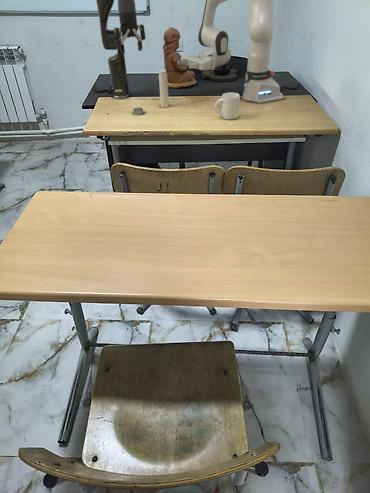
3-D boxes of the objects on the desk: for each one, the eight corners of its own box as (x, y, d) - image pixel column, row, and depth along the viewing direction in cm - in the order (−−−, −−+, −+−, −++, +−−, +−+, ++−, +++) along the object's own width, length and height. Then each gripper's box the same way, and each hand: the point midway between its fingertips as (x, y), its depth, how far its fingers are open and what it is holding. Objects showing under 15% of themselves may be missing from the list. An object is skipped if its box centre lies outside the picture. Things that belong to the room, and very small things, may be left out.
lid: (134, 115, 183) (133, 111, 181) (133, 111, 186) (133, 108, 185) (143, 114, 183) (143, 110, 182) (143, 111, 187) (142, 107, 186)
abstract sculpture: (205, 66, 215) (198, 59, 231) (204, 82, 221) (198, 74, 236) (245, 63, 218) (236, 56, 233) (243, 79, 224) (235, 71, 239)
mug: (215, 121, 173) (216, 99, 166) (212, 114, 179) (213, 93, 173) (240, 119, 174) (241, 97, 167) (235, 113, 180) (237, 91, 174)
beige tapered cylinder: (166, 104, 194) (164, 68, 183) (170, 106, 191) (168, 70, 180) (159, 105, 192) (157, 70, 181) (163, 107, 190) (160, 72, 178)
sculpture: (197, 88, 213) (196, 30, 194) (156, 89, 214) (152, 31, 194) (196, 75, 234) (196, 22, 215) (159, 76, 235) (156, 23, 215)
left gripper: (115, 13, 151) (120, 55, 161) (145, 9, 156) (149, 51, 167) (108, 11, 156) (114, 52, 166) (138, 8, 161) (141, 48, 172)
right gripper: (192, 50, 196) (172, 55, 190) (216, 57, 183) (194, 61, 177) (193, 63, 200) (172, 67, 194) (216, 70, 187) (195, 75, 181)
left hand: (131, 51), depth 166 cm, fingers open, 8 cm apart
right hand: (183, 65), depth 186 cm, fingers open, 8 cm apart
